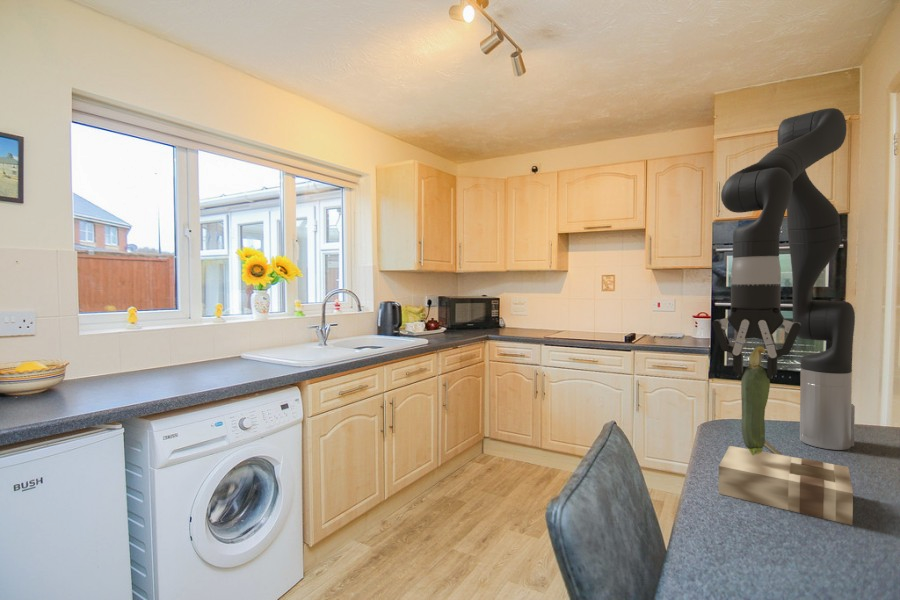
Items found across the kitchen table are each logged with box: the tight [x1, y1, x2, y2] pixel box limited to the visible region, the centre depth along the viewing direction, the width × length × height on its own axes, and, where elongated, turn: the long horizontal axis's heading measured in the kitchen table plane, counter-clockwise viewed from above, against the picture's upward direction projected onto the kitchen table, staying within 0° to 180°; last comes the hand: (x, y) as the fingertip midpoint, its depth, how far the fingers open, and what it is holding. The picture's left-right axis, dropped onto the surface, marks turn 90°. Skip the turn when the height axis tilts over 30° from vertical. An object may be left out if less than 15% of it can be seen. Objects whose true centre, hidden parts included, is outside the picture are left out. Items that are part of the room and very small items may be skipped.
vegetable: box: [740, 345, 771, 456], centre depth 84 cm, size 4×4×20 cm
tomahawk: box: [764, 439, 783, 455], centre depth 105 cm, size 21×7×1 cm, turn 163°
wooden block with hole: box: [718, 445, 854, 526], centre depth 82 cm, size 18×13×5 cm
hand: (754, 376), depth 84 cm, fingers closed on vegetable, 4 cm apart
